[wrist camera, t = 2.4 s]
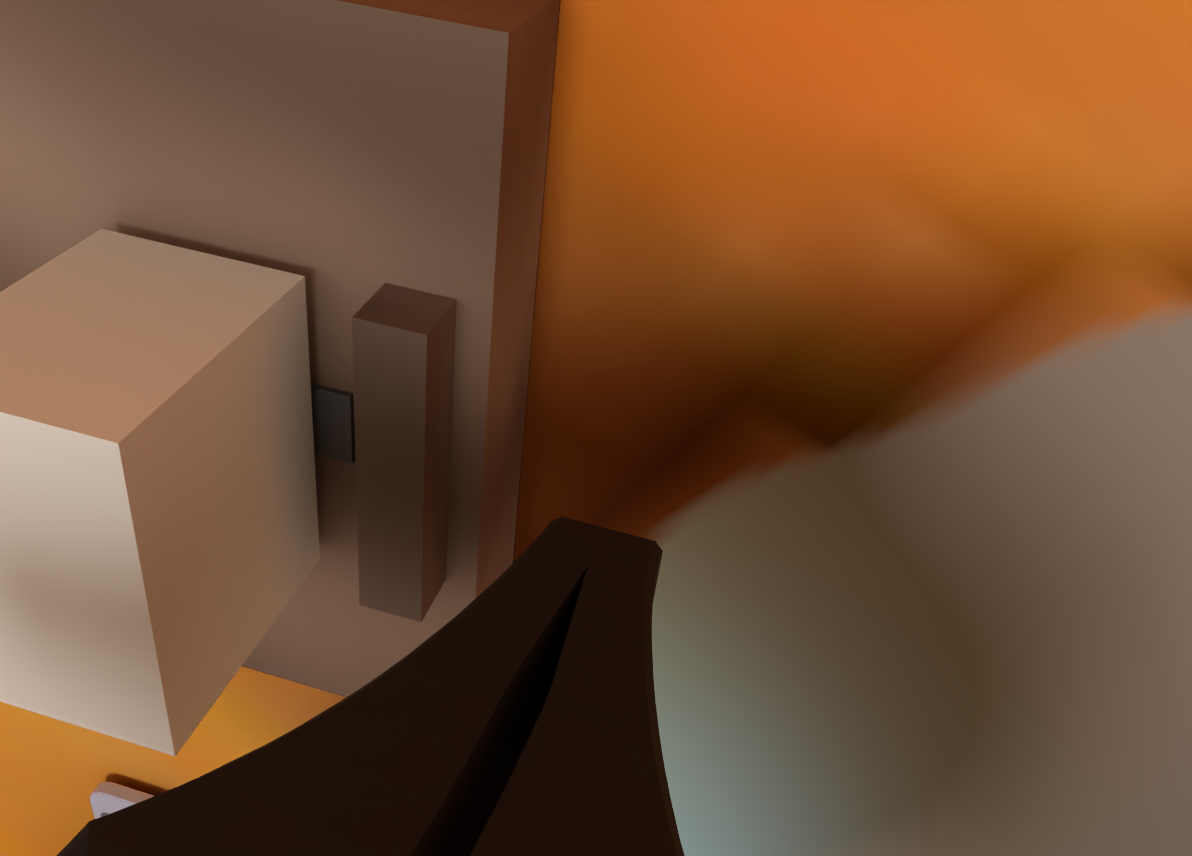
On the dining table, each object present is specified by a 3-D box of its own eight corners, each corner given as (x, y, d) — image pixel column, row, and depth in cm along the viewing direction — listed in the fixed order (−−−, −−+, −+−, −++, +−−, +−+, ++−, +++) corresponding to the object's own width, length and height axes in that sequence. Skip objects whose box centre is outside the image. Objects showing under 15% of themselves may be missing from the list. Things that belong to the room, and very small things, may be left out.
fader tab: (319, 558, 17) (175, 756, 14) (149, 512, 18) (-30, 692, 14) (304, 276, 14) (118, 442, 11) (101, 228, 15) (-135, 376, 12)
